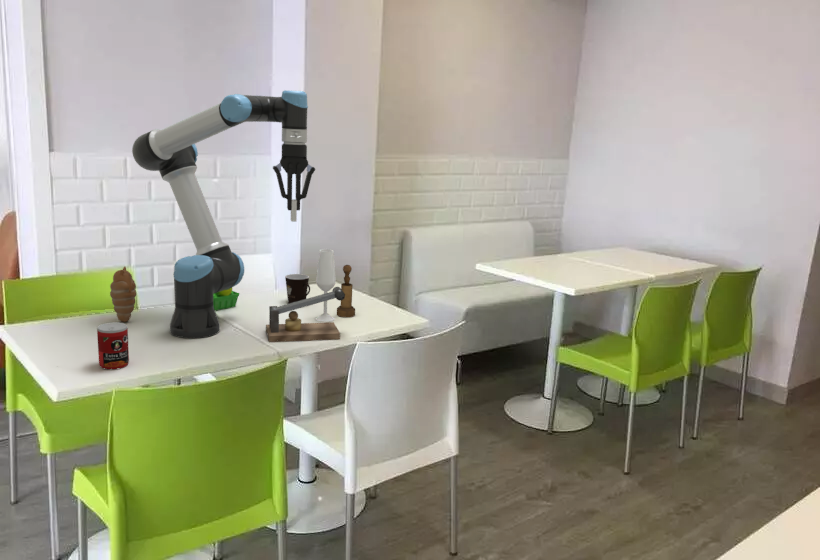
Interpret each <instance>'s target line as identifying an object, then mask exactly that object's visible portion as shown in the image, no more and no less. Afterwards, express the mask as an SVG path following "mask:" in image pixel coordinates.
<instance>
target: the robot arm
mask: <svg viewBox="0 0 820 560" xmlns="http://www.w3.org/2000/svg"><path fill="white" fill-rule="evenodd" d="M308 108H309V106H308V95H307V93H306V92H305V91H304V90H303V91H301V90H285V89H284V90H282V92H281V96H268V95H267V96H266V95H265V96H264V95H248V94H239V93H235V94H229V95H226V96H224V98H223V99H222V101H221V102H220V103H218V104H216V105H213V106H212V107H209V108H207V109H204V110H203V111H200V112H198V113H196V114H194V115H191V116H190V117H187V118H185V119H182V120H181V121H179V122H176V123H174V124H172V125H170V126H167V127H165V128H163V129H156V128H155V129H152V130H150V131H148V132H146V133H145V132H144V133H143V134H141V135H140V136H138V137H137V138H136V139H135V140H134V142H133V145H132V149H131V150H132V151H131V152H132V153H131V154H132V157H133V159H134V161H135V163H136V164H137V165H138V166H139V167H140V168H142V169H145V170H146V171H150V172H156V171H157V172H159V175H160V176H161V179H162V180H163V181H165V182H167V183H169V186H170V188H171V190H172V193H173V195H174V198H175V201H176V202H177V205H178V207H179V210H180V212H181V215H182V217H183V220H184V222H185V225H186V227H187V229H188V232H189V234H190V236H191V240H192V242H193V245H194V247H195V249H196V253H195V255H191V256H189V255H188V256H185V257H181V258H180V259H178V260H177V261H176V262H175V263H174V267H173V287H174V290H173V291H174V311H173V314H172V317H171V319H170V323H169V333H170V334H171V335H172V336H174V337H177V338H183V339H200V338H208V337H210V336H211V337H212V336H214V335H216V334H218V333H219V332H220V330H221V329H220V321H219V318H218V316H217V313H216V311H215V310H214V305H213V294H214V293H217V292H220V291H223V290H227V289H230V288H232V289H233V288H234V287H236V286H237V285H239V284H240V283H241V282H242V280H243V278H244V275H245V264H244V261H243V259H242V258H241V256H240V255H239V254H237V253H236V252H233V251H232V249H231V247H230V245H229V244H228V243H226V242H224V241H223V240H222V238H221V236H220V233H219V230H218V227H217V225H216V223H215V221H214V218H213V216H212V213H211V211H210V208H209V205H208V203H207V201H206V198H205V196H204V193H203V190H202V189H201V186H200V184H199V181H198V179H197V177H196V171H197V169H198V166H197V164H196V163H197V160H198V158H197V157H198V155H199V153H198V148H197V146H196V144H197V143H199V142H201V141H205V140H207V139H209V138H211V137H213V136H216V135H218V134H220V133H222V132H225V131H227V130H229V129H231V128H233V127H237V126H238V125H241V124H244V123H247V122H248V123H250V122H251V123H252V122H255V123H256V122H258V123H259V122H261V123H262V122H265V123H267V122H268V123H281V142H282V144H281V159H279V163H277V164H276V165H273V166H272V169H273V171H274V172H275V174H276V178H277V182H278V187H279V191H280V196H281V198H283V199H285V200H287V202H286V204H287V205H286V208H287V210H288V211H290V222H292V223H293V222H297V220H298V219H297V216H298V215H297V214H298V213H297V211H300V210H301V200H303V199H306V198H307V196H308V191H309V187H310V184H311V180H312V175H314V173H315V171H316V168H315V167H314V166H312V165H310V164H309V161H308V158H307V157H308V156H307V155H308V145H307V144H306V143H307V142H308ZM282 169H283V171H284V172H285V173H286V176H287V178H286V184H287V185H286V186H287V187H286V188H287V189H286V190H285V186H284V182H283V178H282V173H281V172H282ZM305 170H306V172H307V173H306V175H305V180H304V183H303V188H302V189H301V187H302V185H301V183H302V181H301V180H302V179H301V178H302V174H303V173H304V171H305ZM293 175H295V199H293ZM301 190H302V192H301ZM286 192H287V193H286Z"/></svg>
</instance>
